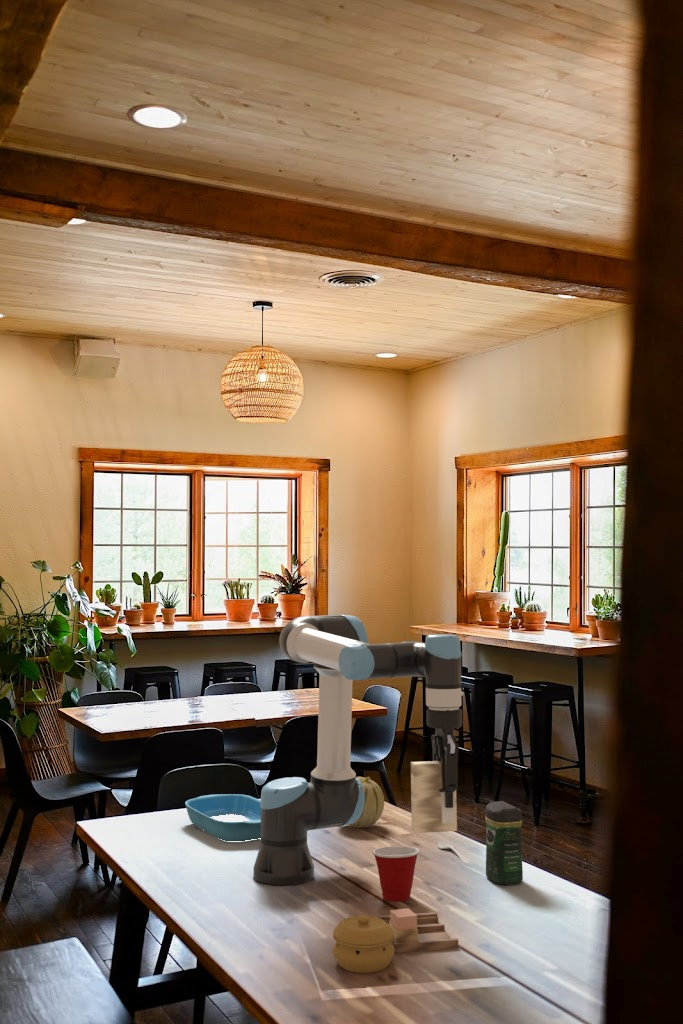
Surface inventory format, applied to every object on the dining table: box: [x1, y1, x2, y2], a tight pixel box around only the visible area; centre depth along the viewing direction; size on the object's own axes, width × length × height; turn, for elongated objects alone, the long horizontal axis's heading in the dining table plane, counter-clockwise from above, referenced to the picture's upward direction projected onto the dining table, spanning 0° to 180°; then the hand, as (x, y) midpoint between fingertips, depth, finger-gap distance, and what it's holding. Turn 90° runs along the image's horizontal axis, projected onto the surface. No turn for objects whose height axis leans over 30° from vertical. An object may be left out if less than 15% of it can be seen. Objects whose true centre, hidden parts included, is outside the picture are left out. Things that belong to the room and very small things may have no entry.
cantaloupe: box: [348, 776, 385, 829], centre depth 290 cm, size 15×15×15 cm
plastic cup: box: [372, 845, 420, 903], centre depth 223 cm, size 11×11×12 cm
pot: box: [332, 914, 395, 974], centre depth 185 cm, size 12×12×10 cm
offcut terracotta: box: [389, 908, 417, 931], centre depth 196 cm, size 4×4×2 cm
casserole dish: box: [184, 793, 261, 841], centre depth 287 cm, size 37×22×7 cm, turn 32°
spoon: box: [437, 840, 471, 864], centre depth 261 cm, size 4×21×2 cm, turn 18°
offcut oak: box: [389, 921, 418, 943], centre depth 196 cm, size 4×6×3 cm
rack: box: [376, 912, 459, 954], centre depth 199 cm, size 13×16×3 cm
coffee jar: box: [484, 800, 524, 886], centre depth 240 cm, size 10×8×19 cm
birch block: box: [410, 760, 458, 834], centre depth 204 cm, size 9×3×14 cm, turn 99°
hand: (445, 820), depth 204 cm, fingers closed on birch block, 3 cm apart
